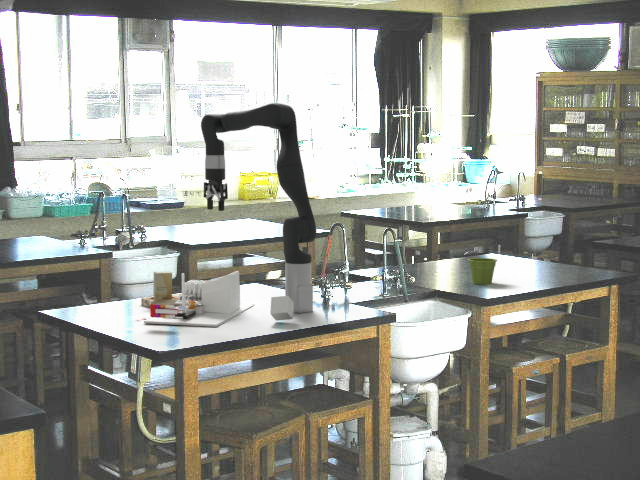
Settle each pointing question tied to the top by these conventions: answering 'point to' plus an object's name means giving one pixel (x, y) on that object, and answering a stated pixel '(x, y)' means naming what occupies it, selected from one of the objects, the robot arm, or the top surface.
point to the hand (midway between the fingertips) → (215, 210)
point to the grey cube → (282, 308)
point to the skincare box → (162, 285)
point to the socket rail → (160, 301)
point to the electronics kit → (202, 303)
